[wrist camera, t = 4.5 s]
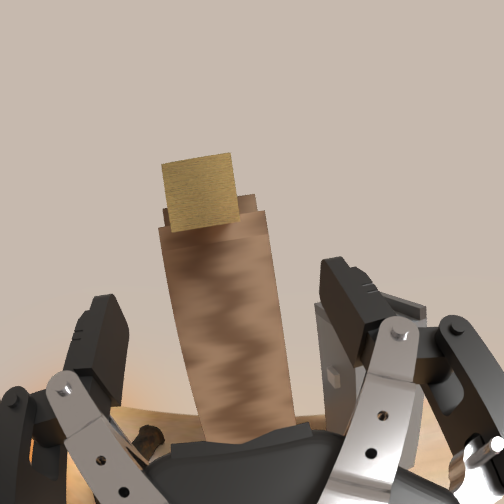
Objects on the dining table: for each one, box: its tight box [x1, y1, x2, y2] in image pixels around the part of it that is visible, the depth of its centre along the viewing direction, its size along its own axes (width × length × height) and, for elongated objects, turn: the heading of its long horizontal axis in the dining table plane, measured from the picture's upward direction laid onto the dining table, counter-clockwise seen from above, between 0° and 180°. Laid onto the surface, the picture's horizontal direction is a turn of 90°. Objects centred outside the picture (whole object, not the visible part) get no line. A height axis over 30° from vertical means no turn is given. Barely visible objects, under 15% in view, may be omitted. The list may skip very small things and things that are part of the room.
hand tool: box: [93, 425, 165, 504], centre depth 32 cm, size 19×4×5 cm, turn 171°
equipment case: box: [314, 292, 427, 470], centre depth 31 cm, size 9×11×21 cm
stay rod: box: [162, 153, 241, 233], centre depth 28 cm, size 4×22×4 cm, turn 4°
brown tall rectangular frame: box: [158, 194, 296, 444], centre depth 32 cm, size 9×12×34 cm
